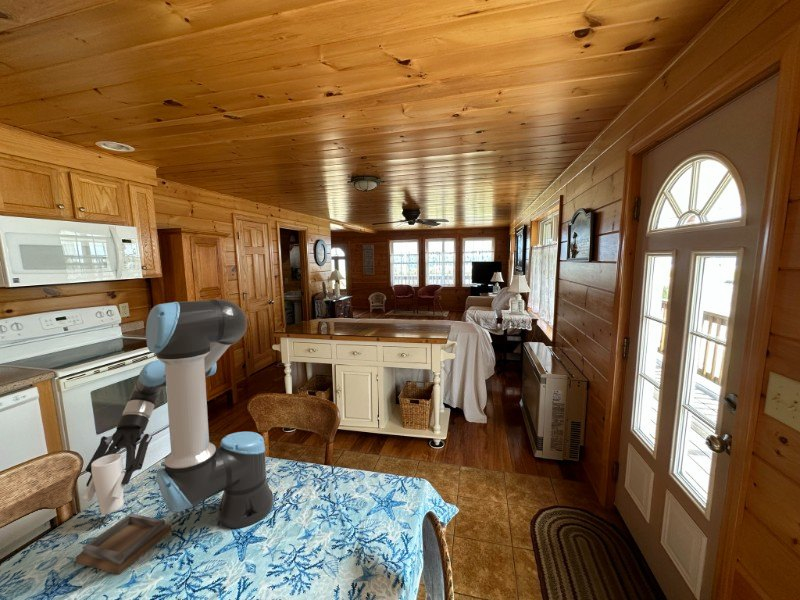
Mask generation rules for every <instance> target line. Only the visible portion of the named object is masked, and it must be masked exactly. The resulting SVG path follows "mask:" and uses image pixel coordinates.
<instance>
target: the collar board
mask: <svg viewBox="0 0 800 600" xmlns="http://www.w3.org/2000/svg"><path fill="white" fill-rule="evenodd" d="M172 529H173V527H172V525H171V524H168V523H166V520H164V519H160V518H159V519H158V518H156V517H151V516H146V515H141V514H136V513H133V512H131V513H129V514H128V515H127V516H125V517H124V518H122V519H121V520H119V521H118V522H117V523H115V524H114V525H112V526H111V527H109V528H108V529H106V530H105V531H103V532H102V533H100V534H98V536H97V537H95V538H94V539H92V540H90V541H89V542H88V543H86V544H85V545H83V546H82V552H81V553H80V554H78V555H76V556H75V562H76V563H77V564H80V565H84V566H87V567H90V568H91V567H92V568H94V569H97V570H101V571H103V572H104V571H105V572H108V573H112V574H115V575H120V574H122V573H123V572H124V571H125V570H126V569H128V568H129V567H130V566H131V565H133V563H135V562H136V561H137V560H138V559H139V558H140V557H142V556H143V555H144V554H146V553H147V552H148V551H149V550H150V549H152V548H153V547H154V546H155V545H157V543H158V542H159V541H160V540H162V539H163V538H164V537H166V536H167V535H168V534H169V533H170V532H172Z"/></svg>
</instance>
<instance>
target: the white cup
mask: <svg viewBox="0 0 800 600" xmlns="http://www.w3.org/2000/svg"><path fill="white" fill-rule="evenodd" d="M123 462H124V461H123V456H122V454H121V453H116V454H111V455H107V456H104V457H101V458H99V459H97V460H95V461H94V462H93V463H92V464H91V471H92V479H93V483H94V487H95V491H96V492H95V495H96V498H97V502H98V506H99V507H98V508H99V513H100V514H101V515H109V514H113V513H115V512H117V511H118V510H120V509H121V508H122V507H123V506H124V503H125V499H124V490H123V491H122V494H121V497H120V498H119V499H116V498H113V497H111V496H112V494H113V491H114V489H115V486H116V484H117V481H118V479H119V477H120V474H121V472H122V471H124V463H123Z"/></svg>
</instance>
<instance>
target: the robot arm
mask: <svg viewBox="0 0 800 600" xmlns="http://www.w3.org/2000/svg"><path fill="white" fill-rule="evenodd" d="M247 328H248V319H247V316H246V313H245V312H244V310H243V309H242V308H241V307H240V306H239V305H238V304H236V303H234V302H232V301H230V300H226V299H221V298H220V299H218V298H217V299H207V300H206V299H205V300H191V301H190V300H189V301H173V302H165V303H159V304H156V305H155V306H153V307H152V308H151V309H150V311H149V313H148V316H147V319H146V325H145V340H146V346H147V350H148V351H149V352H150V353H154V354H156V359H158V360H152V361H150V362H147V363H146V364H145V365H144V366H143V368H142V369H141V371H140V372H139V374H138V378H137V379H136V382H135V386H134V388H133V389H132V392H131V395H130V396H129V400H128V401H127V403H126V405H125V408H124V410H123V412H122V416H120V419H119V421H118V423H117V425H116V431H114V433H113V434H111V435H110V436H101V438H100V442H99V445H98V447H97V449H96V450H95V452H94V454H93V455H92V458H91V459H90V460H89V462H88V464H87V465H86V468H85V469H84V470H85V472H87V473H90V475H89V477H88V480H87V482H86V486H85V487H87V488H86V490H85V491H84V494H83V496H82V500H84V501H86V502H87V501H88V502H92V500H93V498H94V496H95V495H96V491H95V487H94V483H93V479H92V471H91V464H92V463H93V462H94V461H95V460H97V459H99V458H101V457H104V456H107V455H111V454H118V453H119V452H120V451H121V450H123V449H126V451H125V452H126V454H125V467H124V468H123V471H122V472H121V474H120V477H119V479H118V481H117V484H116V486H115V489H114V491H113V494H112V496H111V497H113V498H116V499H119V498H120V497H121V494H122V491H123V492H124V489H125V486H126V485H129V483H130V480H131V477H132V475H133V473H134V472H136V471H140V470H141V469H143V465H144V463H145V462H144V461H145V457H146V454H147V450H148V446H149V444H150V443H151V441H152V439H153V436H152V435H150V434H149V433H144V432H145V431H146V430H147V426H148V425H149V424H148V423H149V422H150V420H149V419H151V416H152V414H153V411H154V409H155V406H156V403H157V400H158V399H159V397H160V394H161V391H162V390H163V388H166V399H167V401H166V402H167V413H168V426H169V427H168V428H169V441H170V452H169V453H168V455H166V457H165V458H164V467H163V468H160V470H157V472H156V480H157V484H158V488H159V491H160V494H161V496H162V499H163V501H164V504H165V505H166V507H167V509H168V510H169V511H170V512H171V513H173V514H174V513H175V514H177V513H180V512H183V511H185V510H187V509H189V508H193V507H194V506H196V505H198V504H200V503H201V502H204V501H206V500H208V499H210V498H212V497H214V496H216V495H218V494H219V493H222V492H223V493H222V496H221V500H220V503H219V507H218V521H219V523H220V524H221V525H222V526H224V527H225V528H231V529H239V528H244V527H248V526H252V525H253V524H256V523H258V522H259V521H261V520H262V519H263V518H265V517H267V515H268V514H270V512H271V510H272V509H273V507H274V494H273V492H272V489H271V488H270V485H269V483H268V480H267V469H266V467H267V466H266V447H265V440H264V437H263V436H262V435H261V434H259V433H257V432H254V431H237V432H233V433H230V434H227V435H225V436H224V437H223V438H221V441H220V443H219V444H220V445H219V446H218V447H216V446H215V444H213V443H212V442H210V436H209V435H210V434H209V433H210V431H209V420H208V419H209V416H208V403H207V401H208V399H207V388H206V387H207V383H206V378H208V377H210V376H214V375H215V374H216V372H217V368H218V367H217V362H218V360H220V358H221V357H222V356H223V355H224V354H225V353H226V352H227V349H229V347H231V346H232V345H234V344H236V343H238V342H239V341H240V340H241V339H242V338H243V337H244V335H245V333H246V331H247ZM138 442H139V444H138ZM137 444H138V449H137ZM136 450H137V451H136Z"/></svg>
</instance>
